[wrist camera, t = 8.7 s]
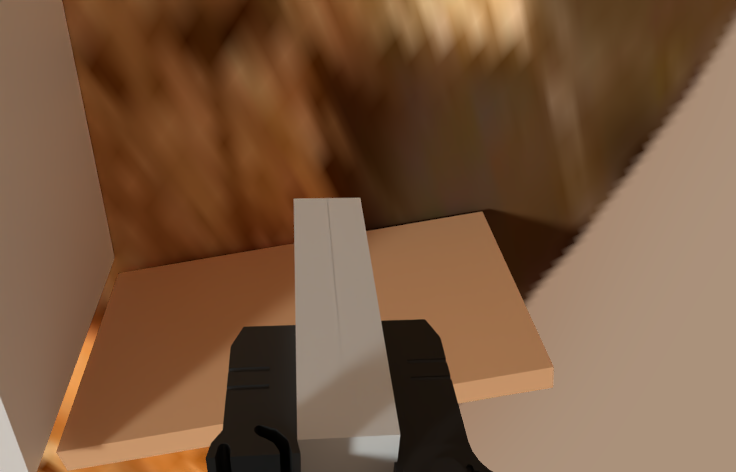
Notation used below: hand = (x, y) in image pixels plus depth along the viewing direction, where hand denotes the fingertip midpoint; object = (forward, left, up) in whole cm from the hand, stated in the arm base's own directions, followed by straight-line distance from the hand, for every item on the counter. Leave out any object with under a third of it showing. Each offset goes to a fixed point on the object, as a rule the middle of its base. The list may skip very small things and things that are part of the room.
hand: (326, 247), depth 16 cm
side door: (+10, 0, -13) cm, 16 cm away
